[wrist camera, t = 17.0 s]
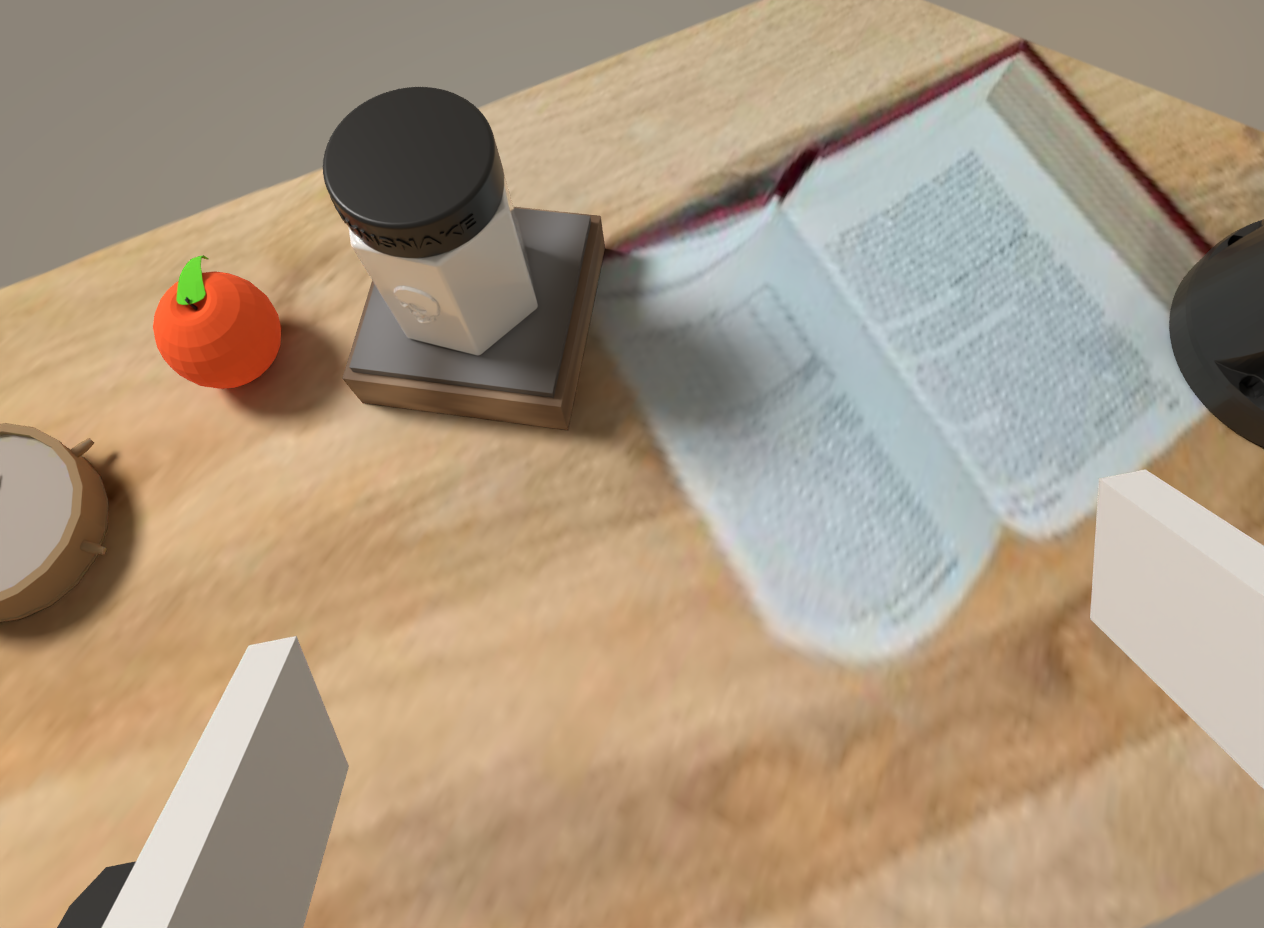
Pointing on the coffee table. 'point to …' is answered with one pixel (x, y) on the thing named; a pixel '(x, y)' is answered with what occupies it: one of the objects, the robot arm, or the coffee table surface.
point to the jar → (432, 216)
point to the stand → (513, 366)
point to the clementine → (216, 328)
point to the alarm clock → (45, 519)
